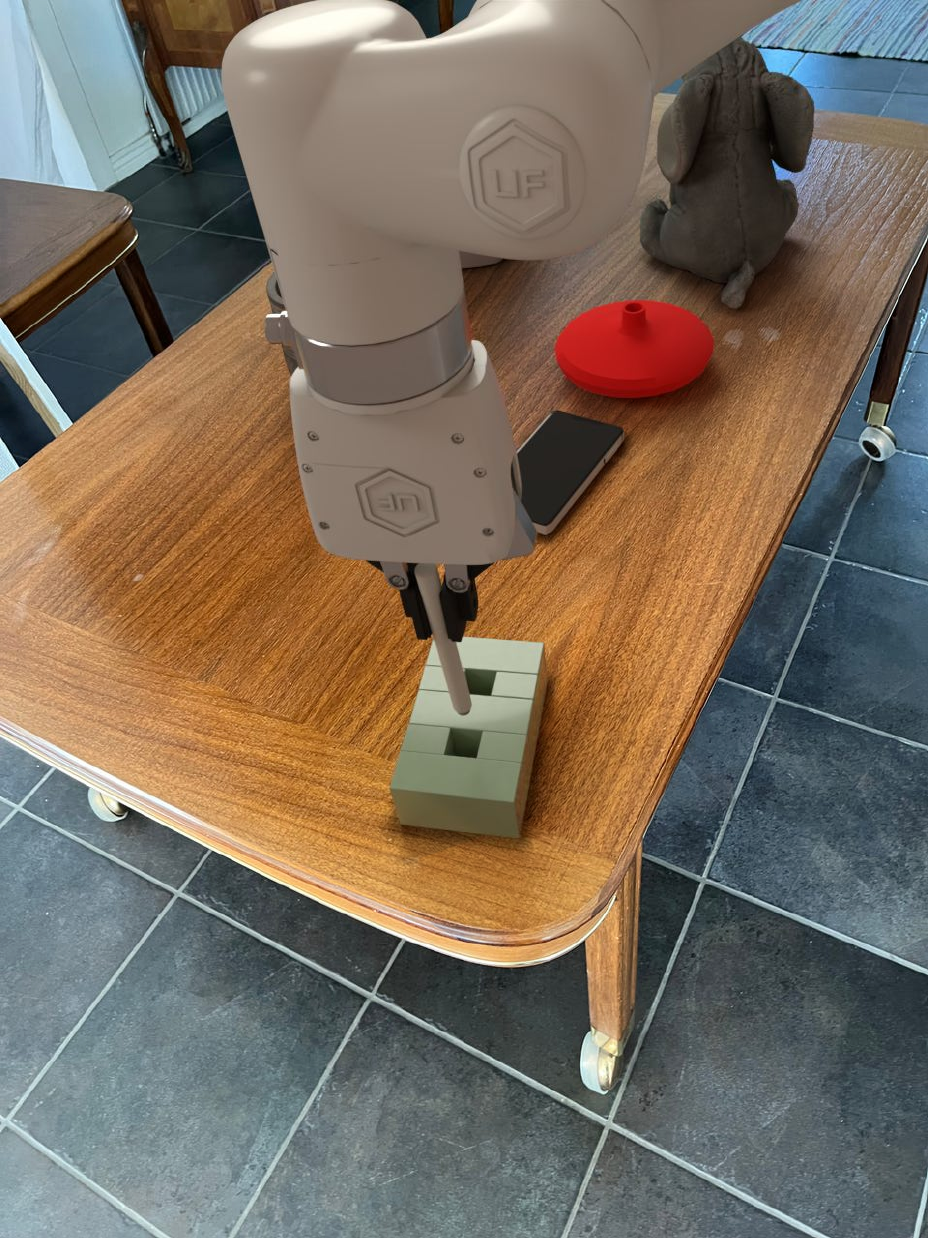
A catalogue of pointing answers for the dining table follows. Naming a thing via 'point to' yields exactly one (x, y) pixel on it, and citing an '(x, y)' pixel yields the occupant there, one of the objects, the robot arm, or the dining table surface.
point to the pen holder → (473, 741)
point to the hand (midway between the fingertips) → (445, 621)
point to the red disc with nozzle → (634, 349)
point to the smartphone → (562, 464)
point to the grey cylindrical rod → (443, 637)
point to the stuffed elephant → (729, 169)
